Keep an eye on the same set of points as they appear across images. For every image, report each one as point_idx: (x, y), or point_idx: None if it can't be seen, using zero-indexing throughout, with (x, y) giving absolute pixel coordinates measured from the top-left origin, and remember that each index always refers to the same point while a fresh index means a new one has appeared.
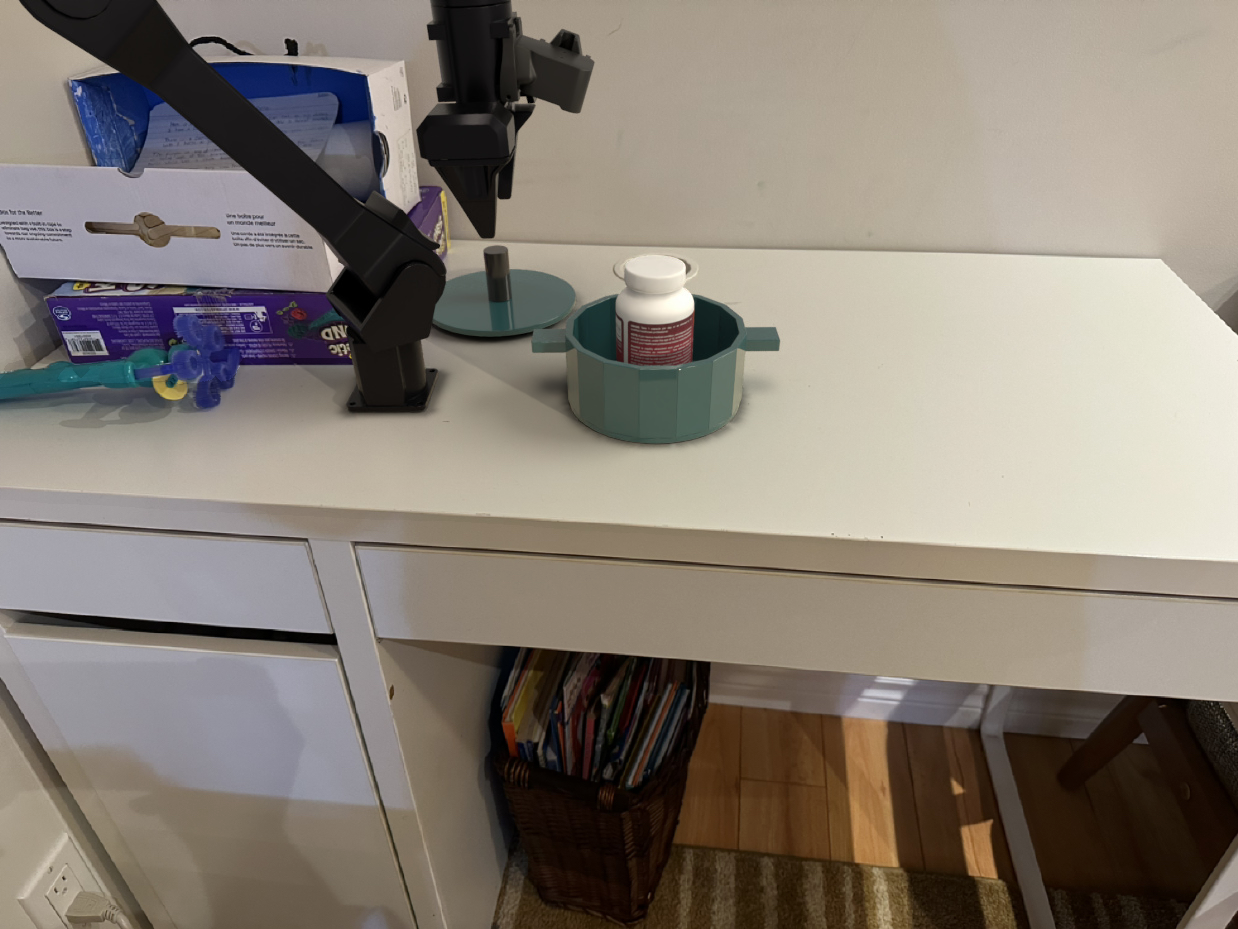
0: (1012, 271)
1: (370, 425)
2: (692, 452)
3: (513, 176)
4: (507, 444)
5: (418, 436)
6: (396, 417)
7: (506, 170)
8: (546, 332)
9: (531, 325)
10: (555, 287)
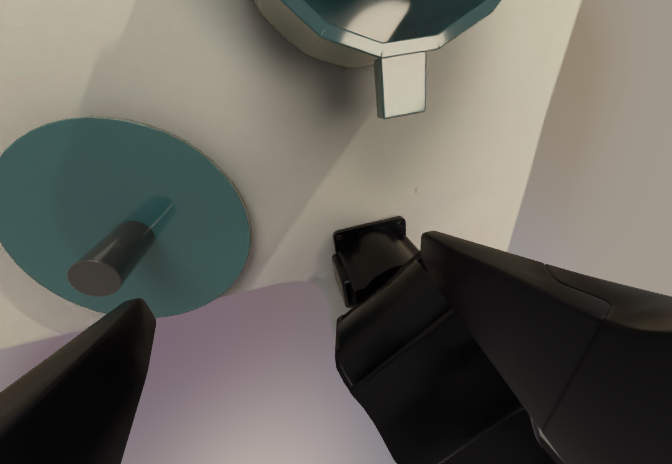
0: None
1: (420, 247)
2: None
3: (70, 342)
4: (456, 117)
5: (438, 204)
6: (409, 234)
7: (95, 374)
8: (396, 94)
9: (210, 164)
10: (44, 166)
